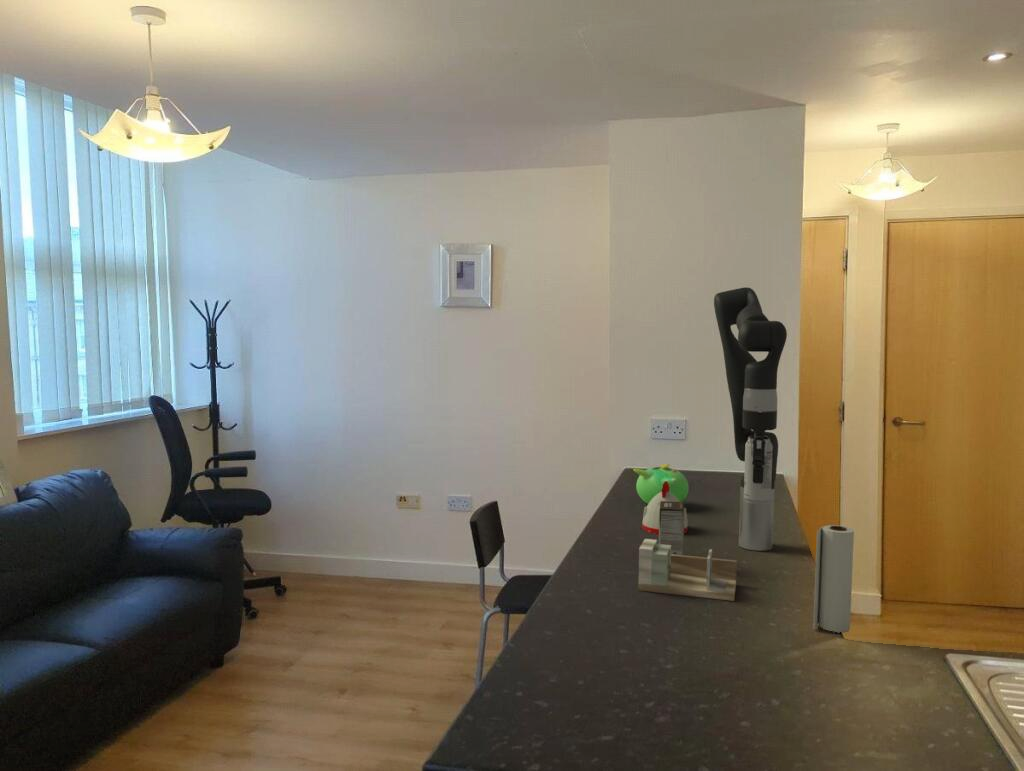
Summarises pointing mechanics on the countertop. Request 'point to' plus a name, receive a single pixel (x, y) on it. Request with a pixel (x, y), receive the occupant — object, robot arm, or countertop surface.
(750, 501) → the energy drink can
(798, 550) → the countertop surface
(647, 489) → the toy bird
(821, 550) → the paper towel roll
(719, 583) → the wooden desk organizer
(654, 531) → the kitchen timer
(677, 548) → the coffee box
